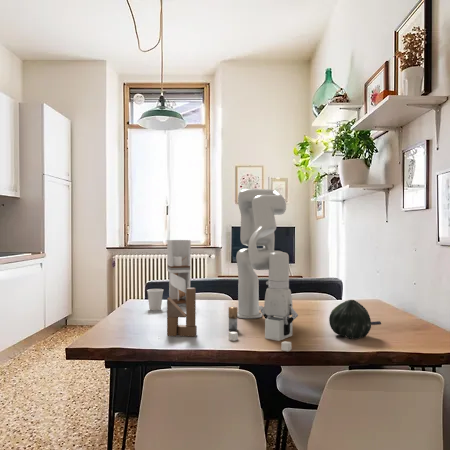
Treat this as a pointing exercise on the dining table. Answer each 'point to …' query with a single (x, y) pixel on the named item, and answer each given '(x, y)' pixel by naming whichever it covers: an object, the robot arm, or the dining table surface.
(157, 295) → the dixie cup
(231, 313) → the peg
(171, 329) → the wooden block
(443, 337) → the dining table surface
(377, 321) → the bracket
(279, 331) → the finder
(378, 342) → the dining table surface
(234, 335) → the rounded white cube
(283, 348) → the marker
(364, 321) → the squash
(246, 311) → the robot arm
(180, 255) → the display case
